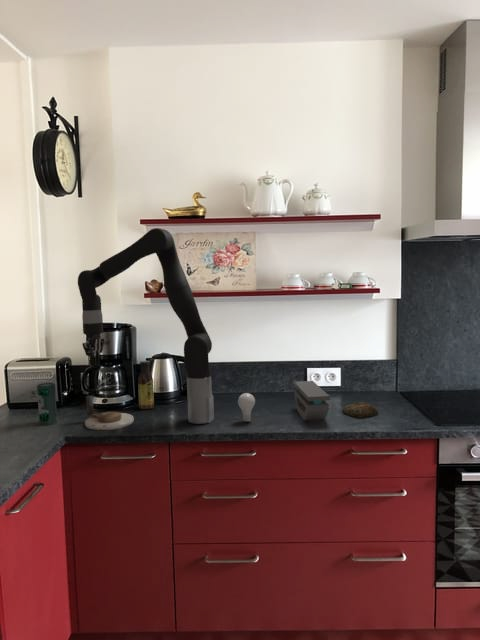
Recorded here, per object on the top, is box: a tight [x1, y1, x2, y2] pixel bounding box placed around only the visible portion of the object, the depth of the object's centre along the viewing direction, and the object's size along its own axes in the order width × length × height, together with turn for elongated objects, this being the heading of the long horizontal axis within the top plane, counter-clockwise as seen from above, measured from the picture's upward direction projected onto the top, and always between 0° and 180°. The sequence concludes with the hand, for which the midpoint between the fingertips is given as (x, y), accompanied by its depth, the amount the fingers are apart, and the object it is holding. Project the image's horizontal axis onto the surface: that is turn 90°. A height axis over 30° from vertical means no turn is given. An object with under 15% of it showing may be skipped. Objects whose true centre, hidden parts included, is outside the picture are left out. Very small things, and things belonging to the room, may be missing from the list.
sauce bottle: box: [137, 360, 155, 410], centre depth 210 cm, size 7×6×20 cm
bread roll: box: [342, 401, 379, 419], centre depth 196 cm, size 13×12×5 cm
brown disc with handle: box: [85, 395, 122, 422], centre depth 191 cm, size 14×9×8 cm, turn 77°
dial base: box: [84, 412, 135, 431], centre depth 191 cm, size 18×18×2 cm
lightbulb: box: [237, 392, 256, 423], centre depth 188 cm, size 6×6×11 cm
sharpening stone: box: [293, 380, 331, 422], centre depth 193 cm, size 25×8×11 cm, turn 6°
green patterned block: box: [36, 382, 58, 426], centre depth 193 cm, size 6×6×15 cm
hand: (95, 365), depth 197 cm, fingers closed
